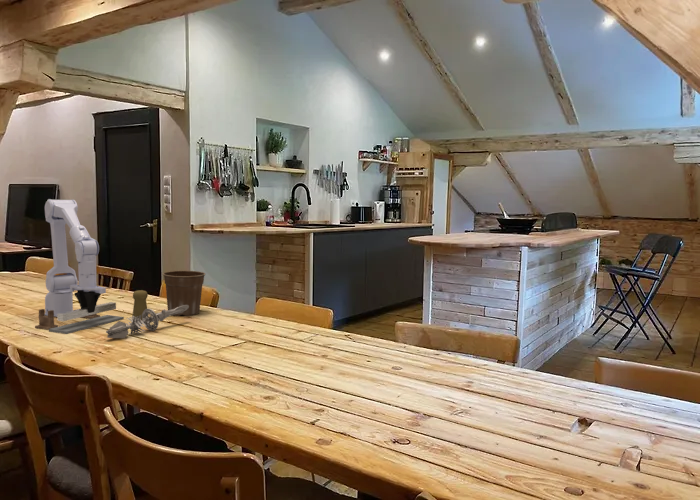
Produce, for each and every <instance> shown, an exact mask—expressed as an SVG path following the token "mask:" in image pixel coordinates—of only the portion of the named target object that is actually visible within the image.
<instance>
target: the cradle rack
mask: <svg viewBox="0 0 700 500" xmlns="http://www.w3.org/2000/svg"><path fill="white" fill-rule="evenodd" d="M100 316H101V315H100V314H98V313H97V314H92V315H88V316H84V317H80V318H81V319H86V320H88V319H92V318H96V317H100ZM55 327H59V325H58V324H55V316H54V310H50V311H48V316H47V315H45V308H41V309H38V324H37V325H34V328H35V329H39V330H47V331H49V329H51V328H55Z"/></svg>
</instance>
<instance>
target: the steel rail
mask: <svg viewBox="0 0 700 500" xmlns="http://www.w3.org/2000/svg"><path fill="white" fill-rule="evenodd" d="M116 309H117V302H114V301H110V302H105V303H100V304H96V307H95V311H94V312H92V313H88V307H86V308H81V307H80V308H77V309H73V310H72V311H68V312H63V313H58V314H57V318H56V319H57V321H58V322H67V321H71V320H74V319H79V318H80V317H84V316H88V315H92V314H97V315H98V314H101V313H105V312H109V311H113V310H116Z"/></svg>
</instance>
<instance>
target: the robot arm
mask: <svg viewBox="0 0 700 500" xmlns="http://www.w3.org/2000/svg"><path fill="white" fill-rule="evenodd" d="M78 210H79V207H78V203H77V201H76V200H75V199H51V198H48V199H47V201H45V204H44V216H45V222H47V223H49V225H50V235H51V245H52V246H51V247H52V248H51V249H52V257H53V258H52V259H53V266H52V267H51V268H50V269H49V270H48V271H47V272H46V278H45V287H46V290H47V291H48V292H47V293H46V295H45V297H44V309H45V316H48V311H50V310H54V318H56V317H57V314H58V313H63V312H68V311H72V310H74V308H73V307H74V305H73V304H74V299H73V297H76V299H77V301H78V304H79V306H80V309H81V308H86V307H88V313H92V312H94V311H95V307H96V305H97V304H98V301H99V298H100V297H101V296H102V294H106V292H107V291H106V290H107V288H106V287H104V286H99V285H97V256H98V255H99V252H100V245H99V242H98V240H97V239H94V238H92V237H91V235H90V233H89V231H88V229H87V228H86V227H85V226H84V225H81V223H80V220H79V217H78ZM66 225H67V226H68V228H69V233H68V234H69V235H70V238H71V240H72V241H73V243H74V254H75V256H76V261H77V263H78V264H77V265H78V266H77V267H78V270H77V271H78V276H77V274H76V270H75V269H74V268H72V267H71V266H69V258H68V257H69V256H68V247H67V235H66V233H67V232H66ZM73 292H74V296H73Z"/></svg>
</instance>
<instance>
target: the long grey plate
mask: <svg viewBox="0 0 700 500" xmlns="http://www.w3.org/2000/svg"><path fill="white" fill-rule="evenodd" d="M124 319H125V317H124V316H121V315H113V314H112V315H111V314H104V315H100V317H96V318H92V319H84V320H82V321H76V322H72V323H68V324H65V325H60V326H59V325H58V327H55V328H51V329H49V330H48V332H49V333H58V334H64V335H68V334H69V335H70V334H72V333H73V334H74V333H76V332H79V331H83V330H86V329H92V328H94V327H99V326H102V325H107V324H111V323H114V322H118V321H122V320H124Z"/></svg>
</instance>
